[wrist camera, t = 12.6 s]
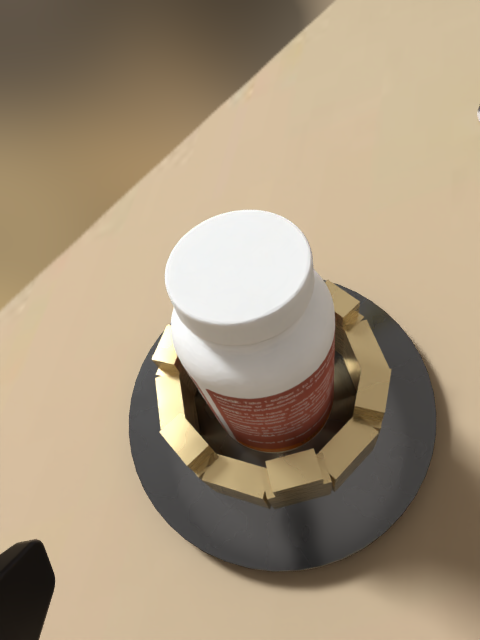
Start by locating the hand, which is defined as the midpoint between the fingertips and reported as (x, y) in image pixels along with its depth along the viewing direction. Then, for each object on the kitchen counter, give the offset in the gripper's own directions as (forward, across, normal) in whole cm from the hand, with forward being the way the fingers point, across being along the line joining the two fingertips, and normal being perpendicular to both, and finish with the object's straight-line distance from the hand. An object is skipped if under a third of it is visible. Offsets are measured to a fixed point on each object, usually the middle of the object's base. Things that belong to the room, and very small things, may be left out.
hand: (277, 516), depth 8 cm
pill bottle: (+14, 0, +4) cm, 15 cm away
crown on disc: (+15, 0, +4) cm, 15 cm away
